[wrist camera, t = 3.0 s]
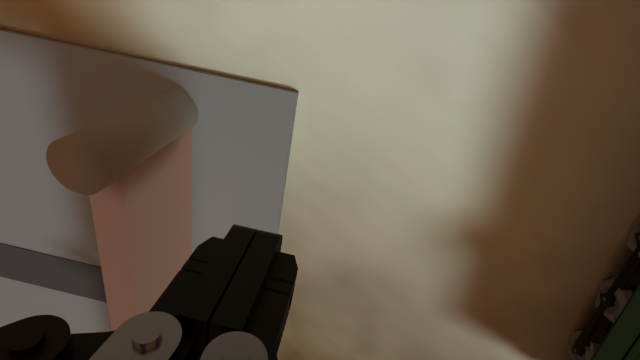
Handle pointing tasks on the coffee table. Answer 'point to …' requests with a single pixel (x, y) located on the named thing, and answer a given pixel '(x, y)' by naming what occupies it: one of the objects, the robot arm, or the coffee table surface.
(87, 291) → the card
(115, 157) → the panel
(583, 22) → the coffee table surface
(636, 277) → the toy train
